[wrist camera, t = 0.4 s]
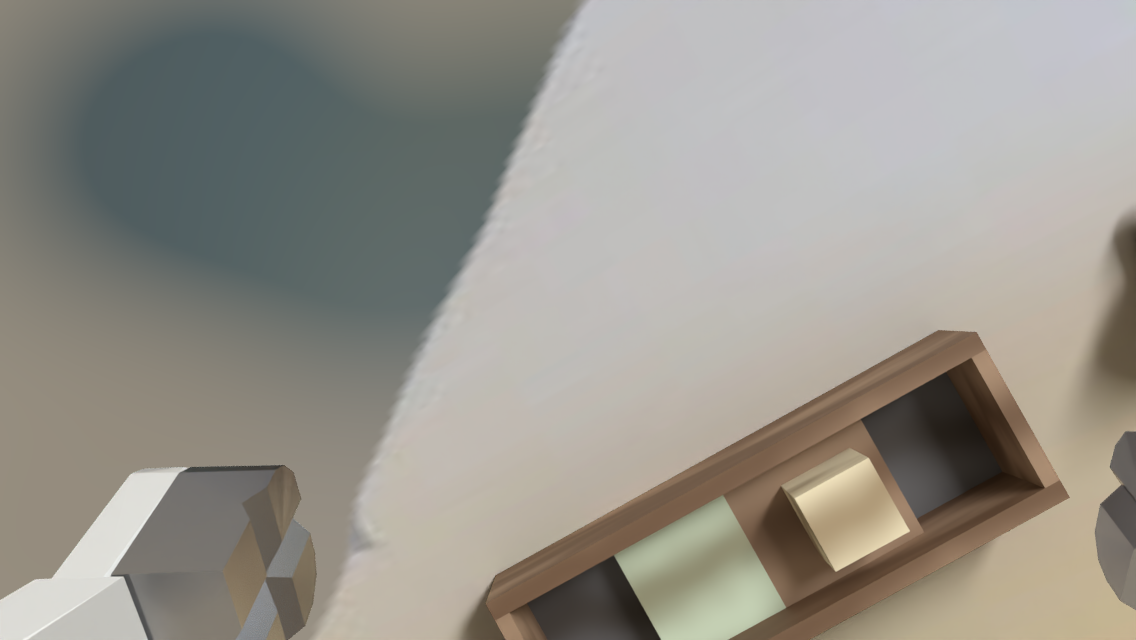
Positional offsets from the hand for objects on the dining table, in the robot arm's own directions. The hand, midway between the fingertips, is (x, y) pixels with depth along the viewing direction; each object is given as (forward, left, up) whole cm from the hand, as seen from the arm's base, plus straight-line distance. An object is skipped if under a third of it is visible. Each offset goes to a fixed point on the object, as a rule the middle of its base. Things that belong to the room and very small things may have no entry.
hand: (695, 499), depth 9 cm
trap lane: (-16, -3, -52) cm, 55 cm away
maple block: (-16, -8, -49) cm, 52 cm away
